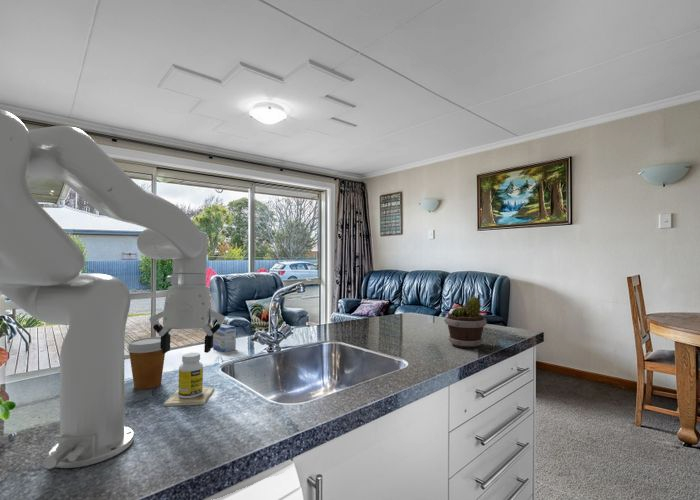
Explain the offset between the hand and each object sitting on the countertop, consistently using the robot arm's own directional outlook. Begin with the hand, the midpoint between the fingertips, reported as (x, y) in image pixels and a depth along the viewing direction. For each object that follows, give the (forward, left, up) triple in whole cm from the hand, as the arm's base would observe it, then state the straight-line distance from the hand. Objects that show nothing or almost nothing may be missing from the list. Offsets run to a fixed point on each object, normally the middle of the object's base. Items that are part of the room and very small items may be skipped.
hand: (186, 351), depth 87 cm
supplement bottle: (+1, -1, -11) cm, 11 cm away
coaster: (+1, 0, -12) cm, 12 cm away
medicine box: (+46, +2, -12) cm, 47 cm away
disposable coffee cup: (+11, +14, -12) cm, 21 cm away
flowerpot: (+39, -88, -12) cm, 97 cm away
